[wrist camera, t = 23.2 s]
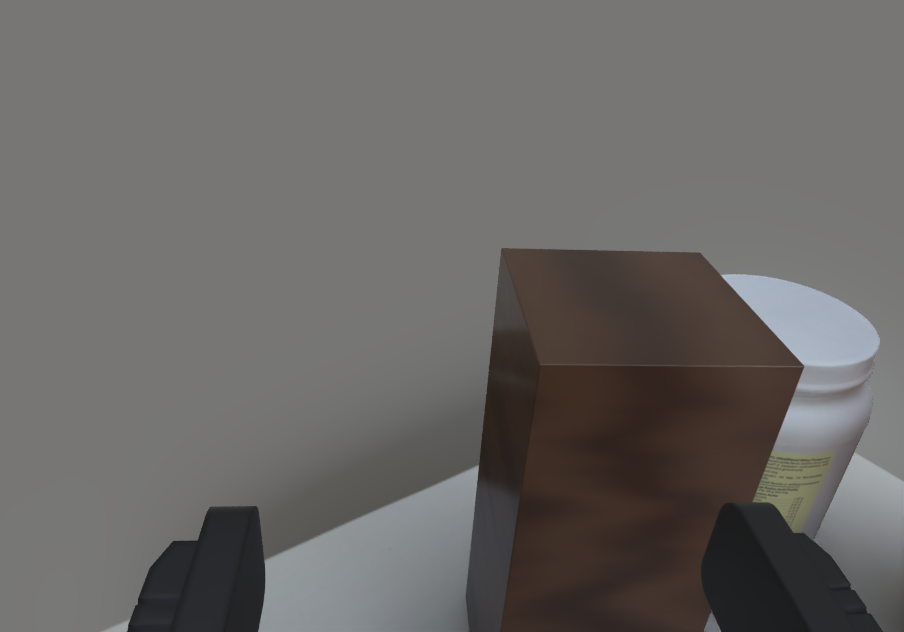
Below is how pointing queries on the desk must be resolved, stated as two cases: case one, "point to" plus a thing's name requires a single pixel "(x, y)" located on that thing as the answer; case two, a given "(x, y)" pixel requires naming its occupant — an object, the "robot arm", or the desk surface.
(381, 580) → the desk surface
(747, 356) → the plant stand
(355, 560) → the desk surface
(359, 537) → the desk surface
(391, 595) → the desk surface
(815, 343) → the supplement tub
